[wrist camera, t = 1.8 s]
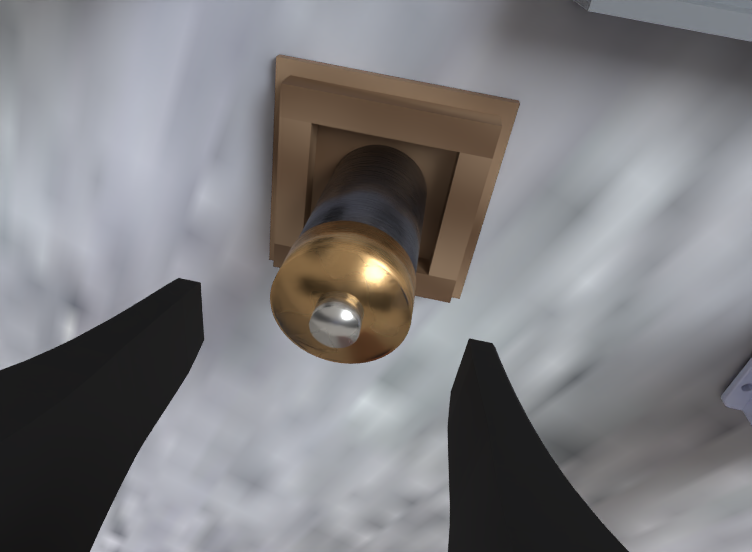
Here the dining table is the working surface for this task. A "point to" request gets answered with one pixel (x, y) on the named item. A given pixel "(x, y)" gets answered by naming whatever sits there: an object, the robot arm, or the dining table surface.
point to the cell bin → (683, 14)
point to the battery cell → (355, 260)
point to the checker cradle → (394, 129)
